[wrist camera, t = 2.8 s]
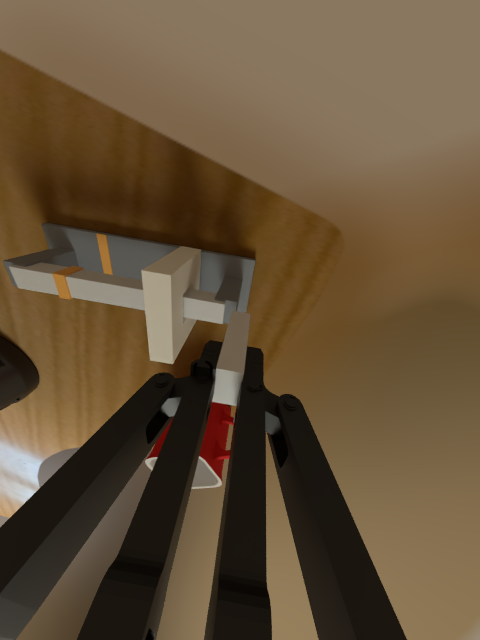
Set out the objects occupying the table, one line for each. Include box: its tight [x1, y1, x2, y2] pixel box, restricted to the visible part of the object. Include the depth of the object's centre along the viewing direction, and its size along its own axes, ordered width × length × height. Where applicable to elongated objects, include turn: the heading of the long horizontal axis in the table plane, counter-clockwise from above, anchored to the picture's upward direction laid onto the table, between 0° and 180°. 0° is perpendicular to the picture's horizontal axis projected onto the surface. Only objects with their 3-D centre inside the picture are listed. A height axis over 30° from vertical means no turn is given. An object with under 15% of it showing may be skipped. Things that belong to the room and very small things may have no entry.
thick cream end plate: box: [141, 246, 201, 364], centre depth 19 cm, size 2×8×8 cm, turn 172°
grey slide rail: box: [3, 223, 256, 324], centre depth 22 cm, size 23×7×7 cm, turn 82°
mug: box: [145, 402, 234, 489], centre depth 31 cm, size 12×8×11 cm
